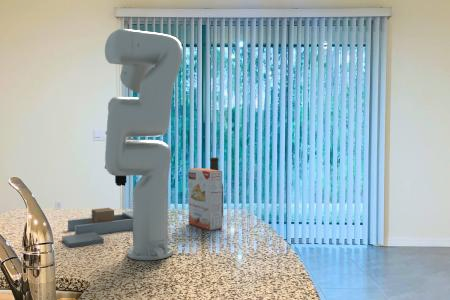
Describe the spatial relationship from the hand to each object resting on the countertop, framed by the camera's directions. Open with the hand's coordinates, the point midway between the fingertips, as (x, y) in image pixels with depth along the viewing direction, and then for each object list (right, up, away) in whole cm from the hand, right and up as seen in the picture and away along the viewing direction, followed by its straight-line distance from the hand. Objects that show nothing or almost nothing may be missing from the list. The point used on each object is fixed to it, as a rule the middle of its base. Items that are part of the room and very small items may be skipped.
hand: (120, 185), depth 139 cm
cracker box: (+30, -15, +2) cm, 34 cm away
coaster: (-7, -16, -19) cm, 25 cm away
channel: (-4, -15, -2) cm, 16 cm away
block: (-5, -15, -3) cm, 17 cm away
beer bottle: (+33, -15, +22) cm, 42 cm away
